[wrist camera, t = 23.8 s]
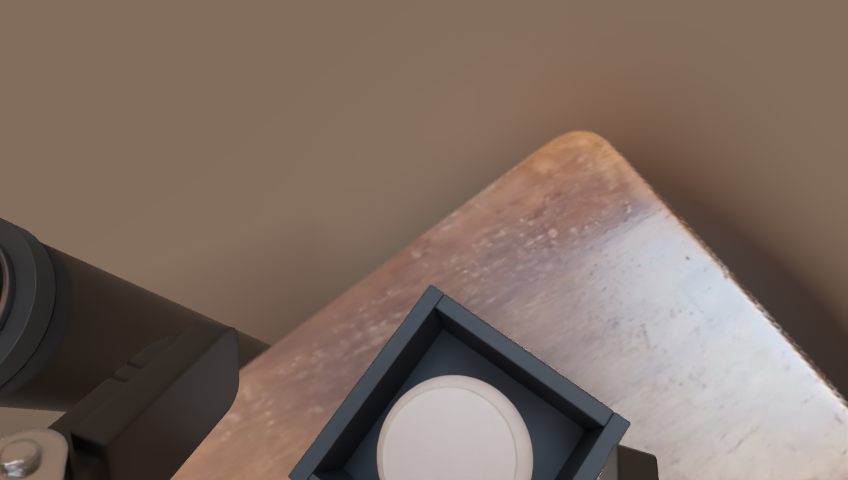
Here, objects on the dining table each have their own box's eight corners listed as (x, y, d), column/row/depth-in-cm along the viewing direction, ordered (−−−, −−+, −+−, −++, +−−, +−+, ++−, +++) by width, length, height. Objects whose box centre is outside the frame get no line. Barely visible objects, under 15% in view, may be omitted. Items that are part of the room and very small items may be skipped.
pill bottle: (403, 392, 32) (359, 366, 21) (518, 387, 31) (530, 358, 21) (405, 518, 30) (357, 558, 19) (528, 516, 29) (548, 556, 19)
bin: (325, 470, 32) (287, 476, 26) (441, 312, 34) (430, 283, 28) (489, 610, 29) (488, 654, 23) (605, 427, 31) (631, 423, 25)
